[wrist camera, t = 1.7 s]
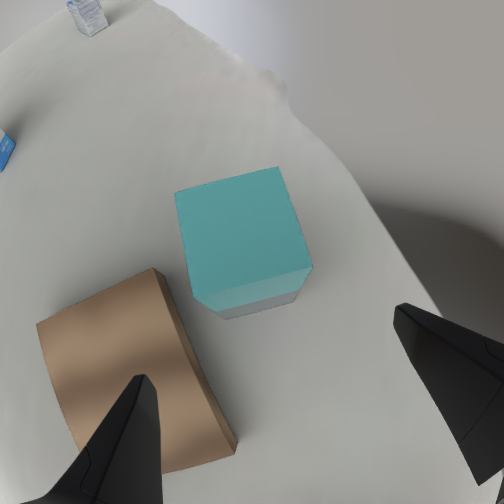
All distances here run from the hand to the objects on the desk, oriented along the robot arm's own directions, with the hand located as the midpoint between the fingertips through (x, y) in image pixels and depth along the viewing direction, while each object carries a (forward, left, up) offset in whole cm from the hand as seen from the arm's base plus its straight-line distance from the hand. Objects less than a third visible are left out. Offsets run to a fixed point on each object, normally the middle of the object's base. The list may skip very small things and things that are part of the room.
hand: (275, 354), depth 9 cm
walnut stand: (+1, +11, -12) cm, 16 cm away
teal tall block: (+5, -1, -12) cm, 13 cm away
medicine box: (+62, +7, -12) cm, 64 cm away
